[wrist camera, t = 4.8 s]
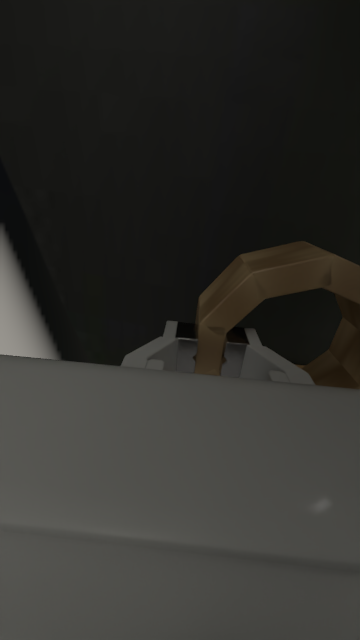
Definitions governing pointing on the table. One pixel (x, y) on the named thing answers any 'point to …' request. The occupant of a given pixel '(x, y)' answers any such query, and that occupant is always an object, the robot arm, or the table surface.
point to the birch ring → (276, 280)
